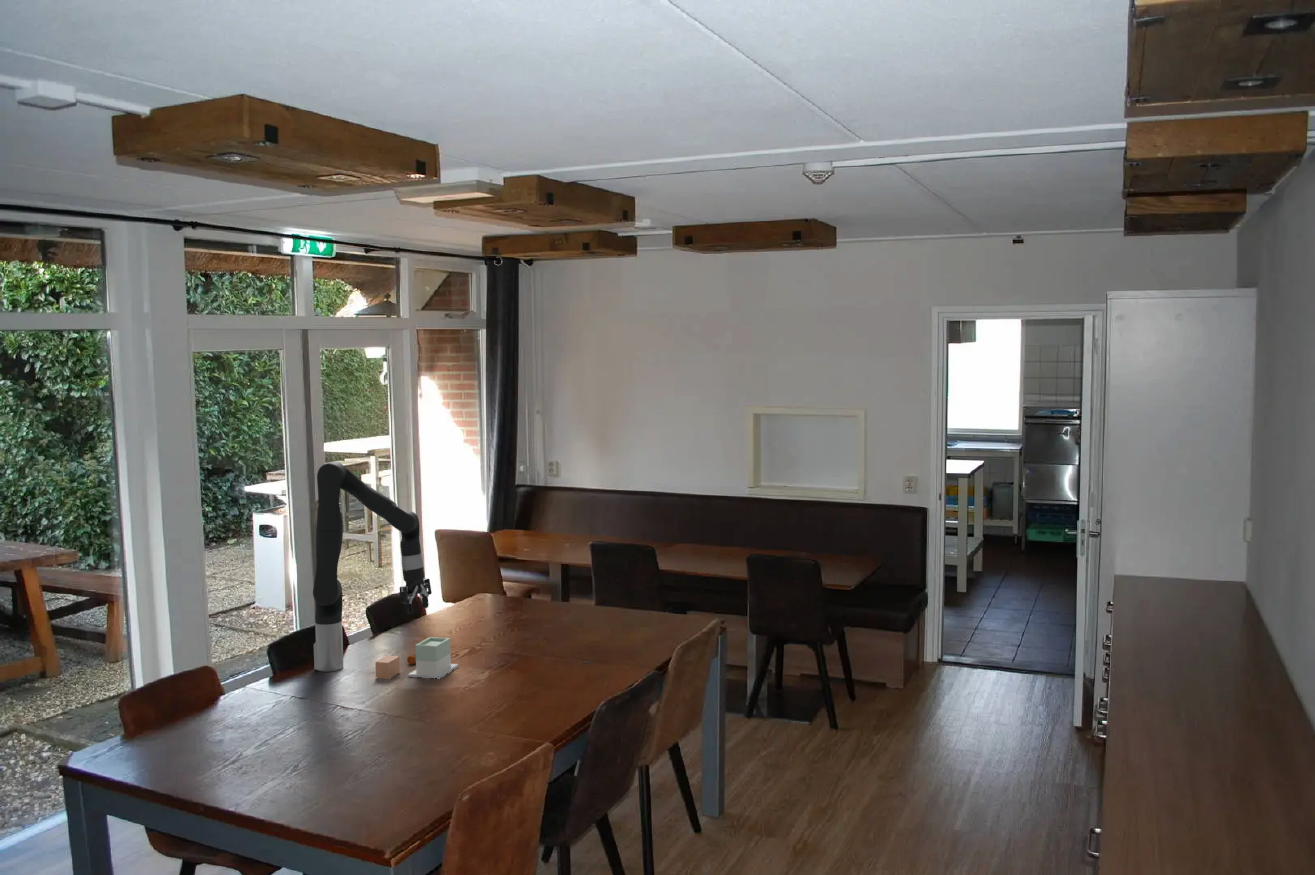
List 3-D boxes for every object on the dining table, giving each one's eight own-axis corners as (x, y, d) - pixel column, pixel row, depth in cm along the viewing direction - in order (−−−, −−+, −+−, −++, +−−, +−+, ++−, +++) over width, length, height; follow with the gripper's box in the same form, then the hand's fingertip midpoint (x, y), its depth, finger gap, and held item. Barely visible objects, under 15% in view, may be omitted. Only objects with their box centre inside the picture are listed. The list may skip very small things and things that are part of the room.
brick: (388, 679, 368) (388, 662, 367) (375, 678, 369) (375, 662, 369) (399, 673, 376) (399, 656, 375) (387, 672, 377) (386, 655, 376)
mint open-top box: (439, 679, 367) (438, 648, 366) (408, 676, 370) (407, 646, 369) (458, 667, 382) (457, 637, 381) (428, 664, 385) (427, 635, 384)
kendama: (402, 653, 387) (435, 636, 405) (406, 669, 387) (439, 650, 405) (415, 652, 384) (447, 634, 402) (419, 668, 384) (451, 649, 402)
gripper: (417, 562, 388) (422, 605, 389) (391, 571, 376) (396, 615, 377) (433, 562, 385) (438, 606, 386) (407, 571, 372) (412, 616, 373)
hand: (417, 610), depth 381 cm, fingers open, 8 cm apart
